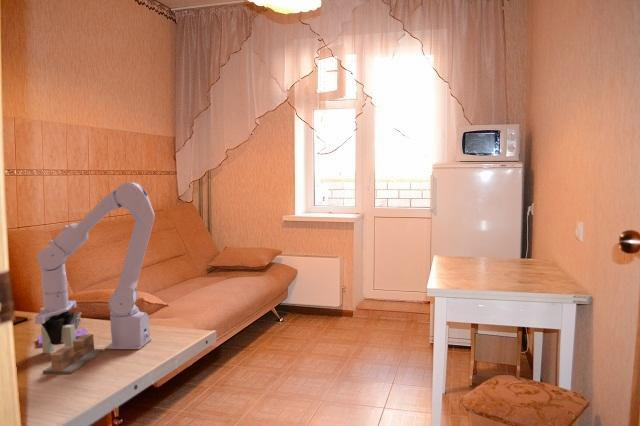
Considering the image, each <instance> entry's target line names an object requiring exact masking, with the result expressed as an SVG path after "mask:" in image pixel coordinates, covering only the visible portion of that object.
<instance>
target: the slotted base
mask: <svg viewBox="0 0 640 426" xmlns="http://www.w3.org/2000/svg"><path fill="white" fill-rule="evenodd" d="M103 351H104V350H103V348H95V341H94V334H91V333H90V334H84V335H82V336H81V337H79V338H77V339H76V340H74V341H73V347H66V346H65V345H64V346H62V347H61V348H59V349H57V350H56V351H53V353H50V361H51V365H50V366H48V367H47V368H45V369H44V370H42V374H52V375H53V374H56V375H57V374H61V375H62V374H65V375H67V374H68V375H71V374H73V373H75V372H76V371H77V370H78V369H80V368H81V367H83V366H84V365H86V364H87V363H89V362H90V361H91V360H93V359H94V358H95V357H97V356H99V354H101V353H103Z"/></svg>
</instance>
